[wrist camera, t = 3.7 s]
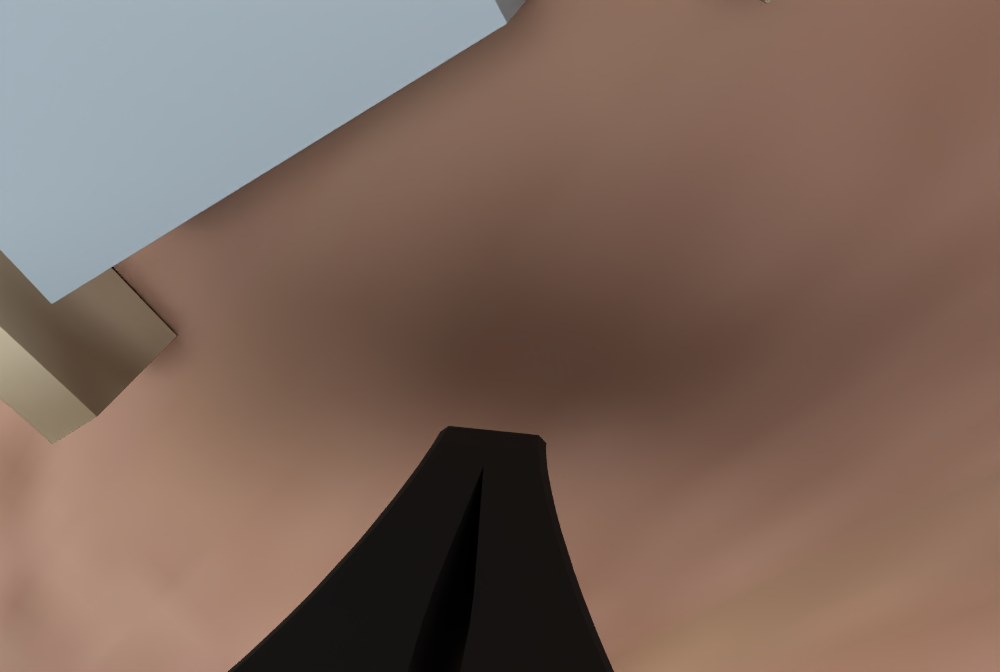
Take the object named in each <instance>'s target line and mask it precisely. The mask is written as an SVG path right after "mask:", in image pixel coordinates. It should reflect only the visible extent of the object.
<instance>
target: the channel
mask: <svg viewBox="0 0 1000 672" xmlns="http://www.w3.org/2000/svg"><path fill="white" fill-rule="evenodd" d="M761 1H762V2H764V3H768V2H770V1H771V0H761ZM176 337H177V336H176V335H175V334H174V333H173V332H172V330H171V329H170V328H169V327H168V326H167V325H166V324H165V323H164V322H163V321H162V320H161V319H160V318H159V317H158V316H157V315H156V314H155V313H154V312H153V311H152V310H151V309H150V308H149V306H148V305H147V304H146V303H145V302H144V301H143V300H142V299H141V298H140V297H139V296H138V295H137V294H136V293H135V292H134V291H133V290H132V289H131V288H130V287H129V286H128V285H127V284H126V282H125V281H124V280H123V279H122V278H121V277H120V276H119V275H118V274H117V273H116V272H115V271H114V270H113V269H112V268H109V269H108V270H106V271H105V272H103V273H101V274H100V275H98V276H96V277H95V278H93V279H92V280H90V281H88V282H87V283H85V284H83V285H82V286H80V287H79V288H77V289H75V290H74V291H72V292H71V293H69V294H67V295H66V296H64V297H62V298H61V299H59V300H58V301H56V302H54V303H53V304H51V303H50V302H49V301H48V300H47V299H46V298H45V296H44V295H43V294H42V293H41V292H40V291H39V290H38V289H37V288H36V287H35V286H34V285H33V284H32V283H31V282H30V281H29V280H28V278H27V277H26V276H25V275H24V274H23V273H22V272H21V271H20V270H19V269H18V268H17V267H16V266H15V265H14V264H13V263H12V262H11V260H10V259H9V258H8V257H7V256H6V255H5V254H4V253H3V252H2V251H1V250H0V399H2V400H3V401H4V402H5V403H6V404H7V405H8V406H9V407H11V408H12V409H13V410H14V411H15V412H16V413H17V414H19V415H20V416H21V417H22V418H23V419H24V420H25V421H26V422H28V423H29V424H30V425H31V426H32V427H33V428H34V429H35V430H37V431H38V432H39V433H40V434H41V435H42V436H43V437H45V438H46V439H47V440H48V441H49V442H50V443H51V444H53V443H55V442H57V441H58V440H60V439H61V438H63V437H65V436H66V435H68V434H70V433H71V432H73V431H74V430H76V429H78V428H79V427H81V426H82V425H84V424H86V423H87V422H89V421H91V420H92V419H94V418H95V417H97V416H98V415H99V414H100V413H101V412H102V411H103V410H104V409H105V408H106V407H107V406H108V405H109V404H110V403H111V402H112V401H113V400H114V399H115V398H116V397H117V396H118V395H119V394H120V393H121V392H122V391H123V390H124V389H125V388H126V387H127V386H128V385H129V384H130V383H131V382H132V381H133V380H134V379H135V378H136V377H137V376H138V375H139V374H140V373H141V372H142V371H143V370H144V369H145V368H146V367H147V366H148V365H149V364H150V363H151V362H152V361H153V360H154V359H155V358H156V357H157V356H158V355H159V354H160V353H161V352H162V351H163V350H164V349H165V348H166V347H167V346H168V345H169V344H170V343H171V342H172V341H173V340H174V339H175V338H176Z"/></svg>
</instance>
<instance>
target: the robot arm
mask: <svg viewBox="0 0 1000 672" xmlns="http://www.w3.org/2000/svg"><path fill="white" fill-rule="evenodd" d="M228 672H614V671H613V669H612V666H611V664H610V662H609V659H608V657H607V655H606V653H605V650H604V648H603V645H602V643H601V641H600V638H599V636H598V633H597V631H596V629H595V626H594V623H593V621H592V618H591V616H590V613H589V611H588V608H587V605H586V603H585V600H584V598H583V595H582V592H581V589H580V587H579V584H578V581H577V578H576V575H575V573H574V570H573V566H572V563H571V560H570V557H569V554H568V551H567V547H566V544H565V541H564V538H563V535H562V531H561V528H560V524H559V521H558V517H557V513H556V509H555V505H554V500H553V496H552V491H551V487H550V481H549V476H548V469H547V459H546V442H545V441H544V440H543V439H542V438H541V437H540V436H539V435H531V434H522V433H512V432H502V431H492V430H483V429H473V428H463V427H453V426H448V427H447V428H445V429H444V430H442V431H441V432H440V433H439V435H438V437H437V438H436V440H435V442H434V443H433V445H432V446H431V448H430V449H429V451H428V452H427V454H426V455H425V457H424V458H423V460H422V461H421V462H420V464H419V465H418V467H417V468H416V469H415V471H414V472H413V474H412V475H411V476H410V478H409V479H408V480H407V482H406V483H405V484H404V486H403V487H402V488H401V490H400V491H399V492H398V494H397V495H396V496H395V497H394V499H393V500H392V501H391V502H390V504H389V505H388V506H387V507H386V508H385V510H384V511H383V512H382V513H381V515H380V516H379V517H378V518H377V520H376V521H375V522H374V523H373V524H372V526H371V527H370V528H369V529H368V531H367V532H366V533H365V534H364V535H363V537H362V538H361V539H360V540H359V541H358V542H357V543H356V545H355V546H354V547H353V548H352V549H351V550H350V551H349V552H348V553H347V554H346V556H345V557H344V558H343V559H342V560H341V561H340V562H339V563H338V564H337V565H336V566H335V568H334V569H333V570H332V571H331V572H330V573H329V574H328V575H327V576H326V577H325V579H324V580H323V581H322V582H321V583H320V584H319V585H318V586H317V587H316V588H315V589H314V590H313V591H312V592H311V593H310V595H309V596H308V597H307V598H306V599H305V600H304V601H303V602H302V603H301V604H300V605H299V606H298V607H297V608H296V609H295V610H294V611H293V612H292V613H291V614H290V615H289V616H288V617H287V618H286V619H284V620H283V621H282V622H281V623H280V624H279V625H278V626H277V627H276V628H275V629H274V630H273V631H272V632H271V633H270V634H269V635H268V636H267V637H266V638H264V639H263V640H262V641H261V642H260V643H259V644H258V645H257V646H256V647H255V648H254V649H253V650H252V651H251V652H249V653H248V654H247V655H246V656H245V657H244V658H243V659H242V660H241V661H239V662H238V663H237V664H236V665H235V666H234V667H232V668H231V669H230V670H229V671H228Z"/></svg>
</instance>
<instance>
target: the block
mask: <svg viewBox="0 0 1000 672" xmlns="http://www.w3.org/2000/svg"><path fill="white" fill-rule="evenodd" d="M525 2H526V0H0V250H1V251H2V252H3V253H4V254H5V255H6V256H7V257H8V258H9V259H10V260H11V262H12V263H13V264H14V265H15V266H16V267H17V268H18V269H19V270H20V271H21V272H22V273H23V274H24V275H25V276H26V277H27V278H28V280H29V281H30V282H31V283H32V284H33V285H34V286H35V287H36V288H37V289H38V290H39V291H40V292H41V293H42V294H43V295H44V296H45V298H46V299H47V300H48V301H49V302H50V303H51V304H53V303H54V302H56V301H58V300H59V299H61V298H62V297H64V296H66V295H67V294H69V293H71V292H72V291H74V290H75V289H77V288H79V287H80V286H82V285H83V284H85V283H87V282H88V281H90V280H92V279H93V278H95V277H96V276H98V275H100V274H101V273H103V272H105V271H106V270H108V269H109V268H111V267H113V266H114V265H116V264H118V263H119V262H121V261H122V260H124V259H126V258H127V257H129V256H131V255H132V254H134V253H135V252H137V251H139V250H140V249H142V248H144V247H145V246H147V245H148V244H150V243H152V242H153V241H155V240H156V239H158V238H160V237H161V236H163V235H165V234H166V233H168V232H169V231H171V230H173V229H174V228H176V227H178V226H179V225H181V224H182V223H184V222H186V221H187V220H189V219H191V218H192V217H194V216H195V215H197V214H199V213H200V212H202V211H204V210H205V209H207V208H208V207H210V206H212V205H213V204H215V203H217V202H218V201H220V200H221V199H223V198H225V197H226V196H228V195H230V194H231V193H233V192H234V191H236V190H238V189H239V188H241V187H242V186H244V185H246V184H247V183H249V182H251V181H252V180H254V179H255V178H257V177H259V176H260V175H262V174H264V173H265V172H267V171H268V170H270V169H272V168H273V167H275V166H277V165H278V164H280V163H281V162H283V161H285V160H286V159H288V158H290V157H291V156H293V155H294V154H296V153H298V152H299V151H301V150H303V149H304V148H306V147H307V146H309V145H311V144H312V143H314V142H315V141H317V140H319V139H320V138H322V137H324V136H325V135H327V134H328V133H330V132H332V131H333V130H335V129H337V128H338V127H340V126H341V125H343V124H345V123H346V122H348V121H350V120H351V119H353V118H354V117H356V116H358V115H359V114H361V113H363V112H364V111H366V110H367V109H369V108H371V107H372V106H374V105H376V104H377V103H379V102H380V101H382V100H384V99H385V98H387V97H389V96H390V95H392V94H393V93H395V92H397V91H398V90H400V89H401V88H403V87H405V86H406V85H408V84H410V83H411V82H413V81H414V80H416V79H418V78H419V77H421V76H423V75H424V74H426V73H427V72H429V71H431V70H432V69H434V68H436V67H437V66H439V65H440V64H442V63H444V62H445V61H447V60H449V59H450V58H452V57H453V56H455V55H457V54H458V53H460V52H462V51H463V50H465V49H466V48H468V47H470V46H471V45H473V44H474V43H476V42H478V41H479V40H481V39H483V38H484V37H486V36H487V35H489V34H491V33H492V32H494V31H496V30H497V29H499V28H500V27H502V26H504V25H505V24H507V23H508V22H509V21H510V19H511V18H512V17H513V16H514V15H515V13H516V12H517V11H518V10H519V9H520V7H521V6H522V5H523V4H524V3H525Z"/></svg>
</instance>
